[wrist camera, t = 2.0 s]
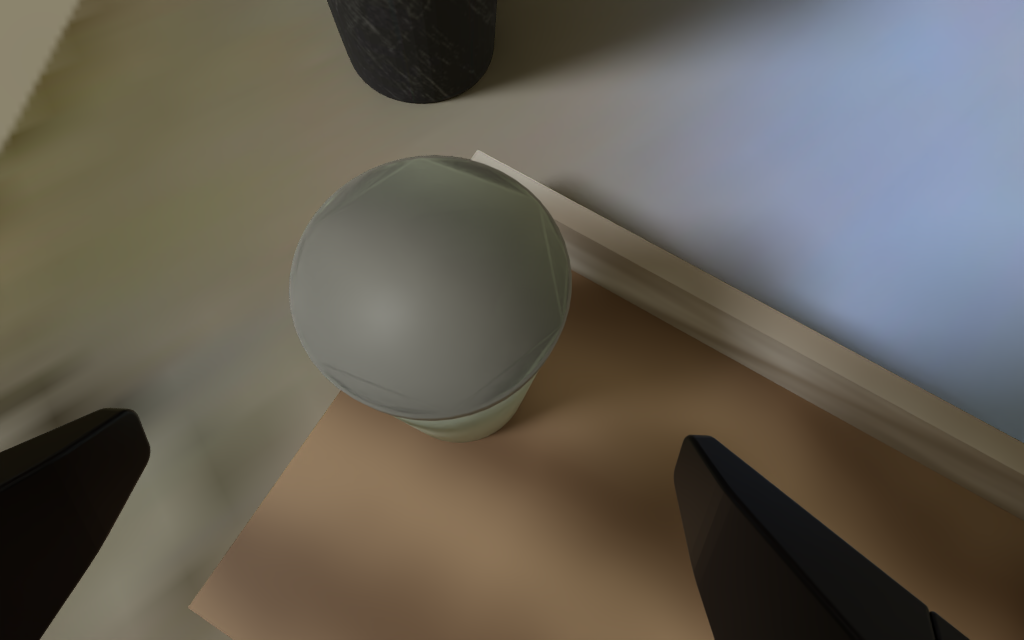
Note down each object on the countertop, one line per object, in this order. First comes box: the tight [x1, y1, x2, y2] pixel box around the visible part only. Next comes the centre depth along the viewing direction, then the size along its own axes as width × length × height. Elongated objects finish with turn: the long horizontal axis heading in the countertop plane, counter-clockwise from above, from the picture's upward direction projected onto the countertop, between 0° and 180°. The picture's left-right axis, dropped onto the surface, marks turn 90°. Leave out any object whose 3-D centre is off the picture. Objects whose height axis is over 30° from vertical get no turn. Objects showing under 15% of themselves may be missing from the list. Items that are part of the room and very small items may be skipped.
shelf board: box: [188, 150, 1024, 640], centre depth 16 cm, size 18×30×4 cm, turn 60°
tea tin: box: [289, 155, 572, 443], centre depth 14 cm, size 5×5×10 cm
